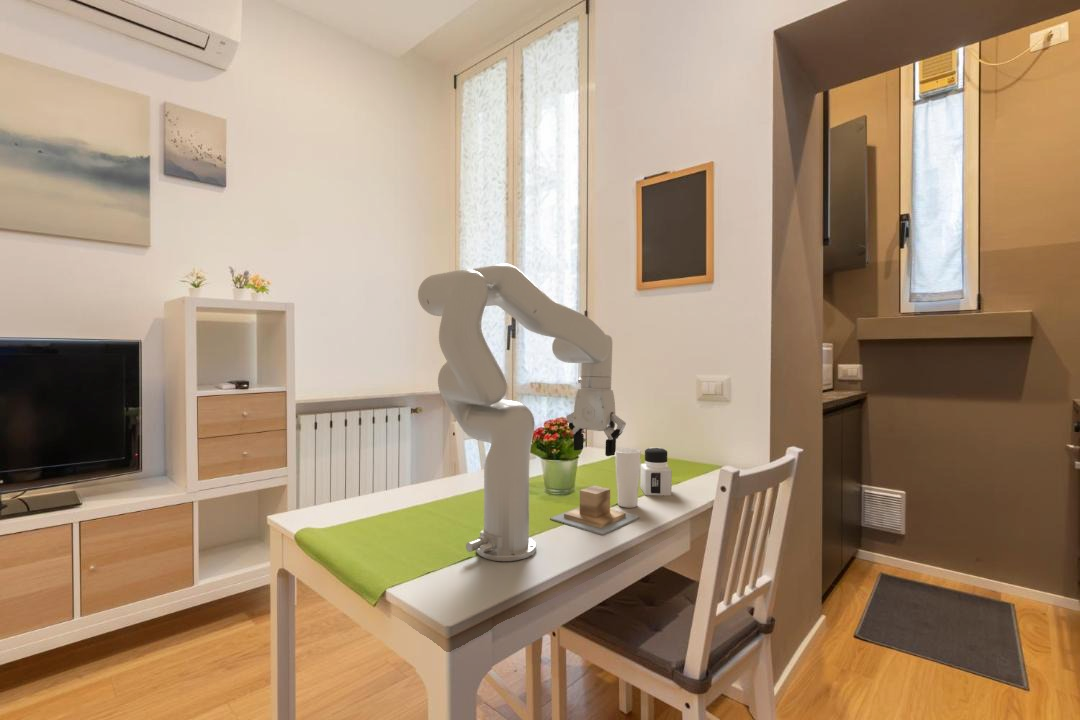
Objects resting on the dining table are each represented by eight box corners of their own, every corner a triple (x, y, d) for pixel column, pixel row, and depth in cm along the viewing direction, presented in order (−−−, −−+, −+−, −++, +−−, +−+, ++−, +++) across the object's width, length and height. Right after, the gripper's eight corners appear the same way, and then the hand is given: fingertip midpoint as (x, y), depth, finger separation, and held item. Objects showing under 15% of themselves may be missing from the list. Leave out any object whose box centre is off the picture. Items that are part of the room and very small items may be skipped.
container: (671, 496, 150) (672, 451, 150) (645, 495, 150) (645, 451, 150) (665, 488, 158) (666, 446, 157) (640, 488, 158) (640, 446, 158)
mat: (602, 535, 118) (602, 533, 118) (549, 519, 129) (549, 517, 129) (639, 518, 130) (639, 516, 130) (588, 505, 141) (588, 503, 141)
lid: (600, 528, 122) (600, 498, 121) (563, 517, 129) (564, 489, 129) (625, 517, 130) (625, 489, 130) (590, 507, 137) (590, 481, 137)
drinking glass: (639, 502, 144) (639, 448, 143) (641, 509, 137) (642, 453, 137) (614, 501, 144) (614, 447, 144) (615, 508, 138) (616, 452, 137)
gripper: (559, 382, 132) (557, 449, 132) (616, 386, 120) (614, 459, 120) (577, 381, 137) (575, 446, 137) (634, 385, 126) (631, 455, 126)
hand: (593, 452), depth 129 cm, fingers open, 9 cm apart
